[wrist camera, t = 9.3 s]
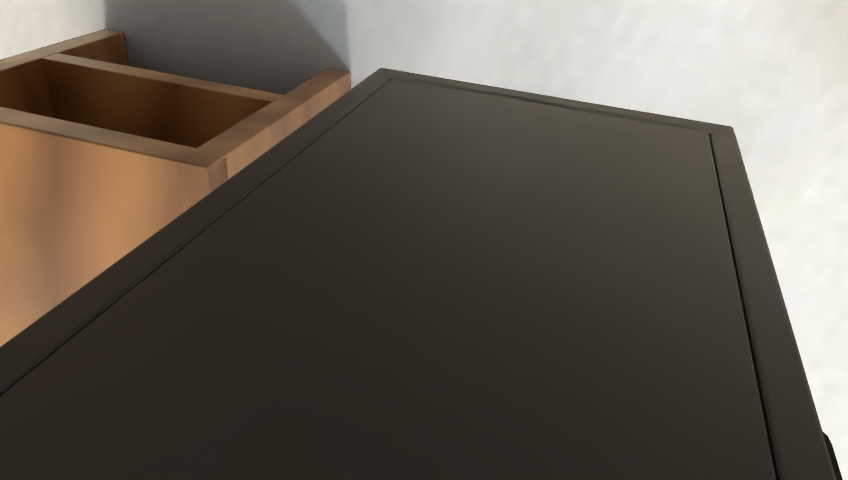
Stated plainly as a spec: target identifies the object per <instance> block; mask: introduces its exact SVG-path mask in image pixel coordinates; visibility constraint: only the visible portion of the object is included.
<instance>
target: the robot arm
mask: <svg viewBox="0 0 848 480" xmlns="http://www.w3.org/2000/svg"><path fill="white" fill-rule="evenodd" d="M823 436H824V439H825V442H826V446H827V449H828V453H829V456H830V459H831V463H832V466H833V470H834V473H835V477H836V480H842V476H841V473H840V470H839V466H838V463H837V460H836V457H835V453H834V450H833V447H832V444H831V442H830V440H829V438H828V436H827V435H826V434H825V433H824V432H823Z"/></svg>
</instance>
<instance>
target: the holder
mask: <svg viewBox="0 0 848 480" xmlns="http://www.w3.org/2000/svg"><path fill="white" fill-rule="evenodd" d="M0 480H836V477H835V473H834V470H833V466H832V463H831V459H830V456H829V453H828V449H827V446H826V442H825V439H824V436H823V432H822V429H821V425H820V422H819V419H818V415H817V412H816V408H815V405H814V402H813V398H812V395H811V391H810V388H809V385H808V381H807V378H806V374H805V371H804V367H803V364H802V361H801V357H800V354H799V350H798V347H797V344H796V340H795V337H794V333H793V330H792V327H791V323H790V320H789V316H788V313H787V310H786V306H785V303H784V299H783V296H782V292H781V289H780V286H779V282H778V279H777V275H776V272H775V269H774V265H773V262H772V258H771V255H770V252H769V248H768V245H767V241H766V238H765V235H764V231H763V228H762V224H761V221H760V218H759V214H758V211H757V207H756V204H755V200H754V197H753V194H752V190H751V187H750V183H749V180H748V177H747V173H746V170H745V166H744V163H743V160H742V156H741V153H740V149H739V146H738V143H737V139H736V136H735V133H734V130H733V128H732V127H730V126H724V125H718V124H712V123H706V122H700V121H694V120H689V119H683V118H677V117H671V116H665V115H659V114H653V113H647V112H641V111H635V110H629V109H623V108H617V107H611V106H605V105H599V104H593V103H587V102H581V101H575V100H569V99H563V98H557V97H552V96H546V95H540V94H534V93H528V92H522V91H516V90H510V89H504V88H498V87H492V86H486V85H480V84H474V83H468V82H462V81H456V80H450V79H444V78H438V77H432V76H426V75H421V74H415V73H409V72H403V71H397V70H391V69H385V68H380V69H378V70H377V71H376V72H374V73H372V74H371V75H370V76H368V77H367V78H366V79H364V80H363V81H362V82H360V83H359V84H357V85H356V86H355V87H353V88H352V89H351V90H349V91H348V92H347V93H345V94H344V95H342V96H341V97H340V98H338V99H337V100H336V101H334V102H333V103H332V104H330V105H329V106H327V107H326V108H325V109H323V110H322V111H321V112H319V113H318V114H317V115H315V116H314V117H313V118H311V119H310V120H308V121H307V122H306V123H304V124H303V125H302V126H300V127H299V128H298V129H296V130H295V131H293V132H292V133H291V134H289V135H288V136H287V137H285V138H284V139H283V140H281V141H280V142H278V143H277V144H276V145H274V146H273V147H272V148H270V149H269V150H268V151H266V152H265V153H263V154H262V155H261V156H259V157H258V158H257V159H255V160H254V161H253V162H251V163H250V164H249V165H247V166H246V167H244V168H243V169H242V170H240V171H239V172H238V173H236V174H235V175H234V176H232V177H231V178H229V179H228V180H227V181H225V182H224V183H223V184H221V185H220V186H219V187H217V188H216V189H214V190H213V191H212V192H210V193H209V194H208V195H206V196H205V197H204V198H202V199H201V200H199V201H198V202H197V203H195V204H194V205H193V206H191V207H190V208H189V209H187V210H186V211H184V212H183V213H182V214H180V215H179V216H178V217H176V218H175V219H174V220H172V221H171V222H170V223H168V224H167V225H165V226H164V227H163V228H161V229H160V230H159V231H157V232H156V233H155V234H153V235H152V236H150V237H149V238H148V239H146V240H145V241H144V242H142V243H141V244H140V245H138V246H137V247H135V248H134V249H133V250H131V251H130V252H129V253H127V254H126V255H125V256H123V257H122V258H120V259H119V260H118V261H116V262H115V263H114V264H112V265H111V266H110V267H108V268H107V269H105V270H104V271H103V272H101V273H100V274H99V275H97V276H96V277H95V278H93V279H92V280H91V281H89V282H88V283H86V284H85V285H84V286H82V287H81V288H80V289H78V290H77V291H76V292H74V293H73V294H71V295H70V296H69V297H67V298H66V299H65V300H63V301H62V302H61V303H59V304H58V305H56V306H55V307H54V308H52V309H51V310H50V311H48V312H47V313H46V314H44V315H43V316H41V317H40V318H39V319H37V320H36V321H35V322H33V323H32V324H31V325H29V326H28V327H27V328H25V329H24V330H22V331H21V332H20V333H18V334H17V335H16V336H14V337H13V338H12V339H10V340H9V341H7V342H6V343H5V344H3V345H2V346H1V347H0Z"/></svg>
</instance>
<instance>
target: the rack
mask: <svg viewBox="0 0 848 480" xmlns="http://www.w3.org/2000/svg"><path fill="white" fill-rule="evenodd" d="M349 90H350V71H344V70H339V69H333V68H327V69H325V70H324V71H322V72H320V73H319V74H317V75H315V76H314V77H312V78H311V79H309V80H307V81H306V82H304V83H302V84H301V85H299V86H298V87H296V88H294V89H293V90H291V91H289V92H288V93H286V94H284V95H282V94H276V93H271V92H266V91H260V90H255V89H249V88H244V87H239V86H233V85H228V84H222V83H217V82H212V81H206V80H201V79H195V78H190V77H184V76H179V75H174V74H168V73H163V72H157V71H152V70H147V69H141V68H136V67H130V66H129V65H128V59H127V53H126V47H125V41H124V34H123V32H118V31H112V30H106V29H103V30H100V31H97V32H93V33H90V34H86V35H83V36H80V37H76V38H73V39H70V40H66V41H63V42H59V43H56V44H53V45H49V46H46V47H42V48H39V49H36V50H32V51H29V52H25V53H22V54H19V55H15V56H12V57H9V58H5V59H2V60H0V347H1V346H2V345H3V344H5V343H6V342H7V341H9V340H10V339H12V338H13V337H14V336H16V335H17V334H18V333H20V332H21V331H22V330H24V329H25V328H27V327H28V326H29V325H31V324H32V323H33V322H35V321H36V320H37V319H39V318H40V317H41V316H43V315H44V314H46V313H47V312H48V311H50V310H51V309H52V308H54V307H55V306H56V305H58V304H59V303H61V302H62V301H63V300H65V299H66V298H67V297H69V296H70V295H71V294H73V293H74V292H76V291H77V290H78V289H80V288H81V287H82V286H84V285H85V284H86V283H88V282H89V281H91V280H92V279H93V278H95V277H96V276H97V275H99V274H100V273H101V272H103V271H104V270H105V269H107V268H108V267H110V266H111V265H112V264H114V263H115V262H116V261H118V260H119V259H120V258H122V257H123V256H125V255H126V254H127V253H129V252H130V251H131V250H133V249H134V248H135V247H137V246H138V245H140V244H141V243H142V242H144V241H145V240H146V239H148V238H149V237H150V236H152V235H153V234H155V233H156V232H157V231H159V230H160V229H161V228H163V227H164V226H165V225H167V224H168V223H170V222H171V221H172V220H174V219H175V218H176V217H178V216H179V215H180V214H182V213H183V212H184V211H186V210H187V209H189V208H190V207H191V206H193V205H194V204H195V203H197V202H198V201H199V200H201V199H202V198H204V197H205V196H206V195H208V194H209V193H210V192H212V191H213V190H214V189H216V188H217V187H219V186H220V185H221V184H223V183H224V182H225V181H227V180H228V179H229V178H231V177H232V176H234V175H235V174H236V173H238V172H239V171H240V170H242V169H243V168H244V167H246V166H247V165H249V164H250V163H251V162H253V161H254V160H255V159H257V158H258V157H259V156H261V155H262V154H263V153H265V152H266V151H268V150H269V149H270V148H272V147H273V146H274V145H276V144H277V143H278V142H280V141H281V140H283V139H284V138H285V137H287V136H288V135H289V134H291V133H292V132H293V131H295V130H296V129H298V128H299V127H300V126H302V125H303V124H304V123H306V122H307V121H308V120H310V119H311V118H313V117H314V116H315V115H317V114H318V113H319V112H321V111H322V110H323V109H325V108H326V107H327V106H329V105H330V104H332V103H333V102H334V101H336V100H337V99H338V98H340V97H341V96H342V95H344V94H345V93H347V92H348V91H349Z"/></svg>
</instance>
